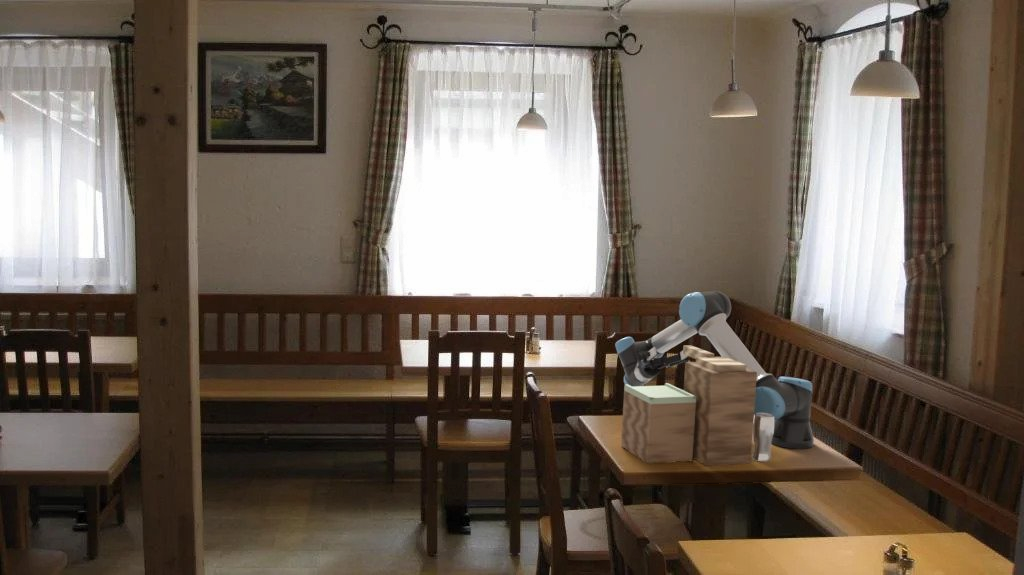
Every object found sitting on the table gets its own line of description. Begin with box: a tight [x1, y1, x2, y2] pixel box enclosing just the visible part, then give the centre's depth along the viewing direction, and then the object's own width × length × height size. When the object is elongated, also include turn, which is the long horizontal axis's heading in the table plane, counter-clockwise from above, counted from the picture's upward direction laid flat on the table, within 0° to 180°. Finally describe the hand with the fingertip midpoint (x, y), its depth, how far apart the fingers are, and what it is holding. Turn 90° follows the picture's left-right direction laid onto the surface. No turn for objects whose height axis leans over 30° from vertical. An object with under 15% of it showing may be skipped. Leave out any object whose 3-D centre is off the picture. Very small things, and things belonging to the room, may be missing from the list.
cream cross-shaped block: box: [682, 344, 746, 372], centre depth 338 cm, size 30×10×3 cm, turn 18°
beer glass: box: [751, 412, 775, 463], centre depth 333 cm, size 7×7×15 cm
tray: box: [623, 382, 696, 404], centre depth 333 cm, size 20×16×2 cm
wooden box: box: [620, 389, 696, 464], centre depth 334 cm, size 20×16×19 cm
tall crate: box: [683, 361, 757, 467], centre depth 333 cm, size 18×16×30 cm
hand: (672, 350), depth 361 cm, fingers open, 13 cm apart
